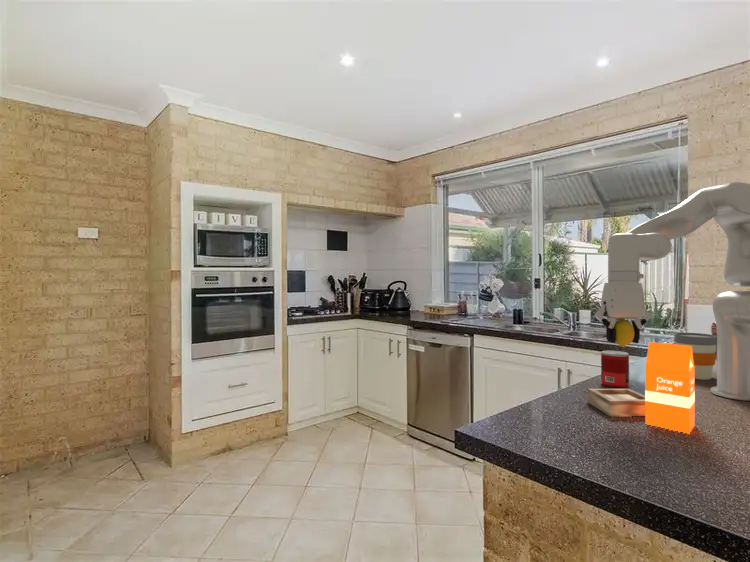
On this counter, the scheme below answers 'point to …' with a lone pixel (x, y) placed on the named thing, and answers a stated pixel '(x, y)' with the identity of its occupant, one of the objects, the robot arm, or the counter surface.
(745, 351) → the robot arm
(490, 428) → the counter surface
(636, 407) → the square wooden box
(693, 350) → the reusable coffee cup
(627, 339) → the lemon
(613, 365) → the canned food
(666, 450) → the counter surface
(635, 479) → the counter surface
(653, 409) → the orange juice
